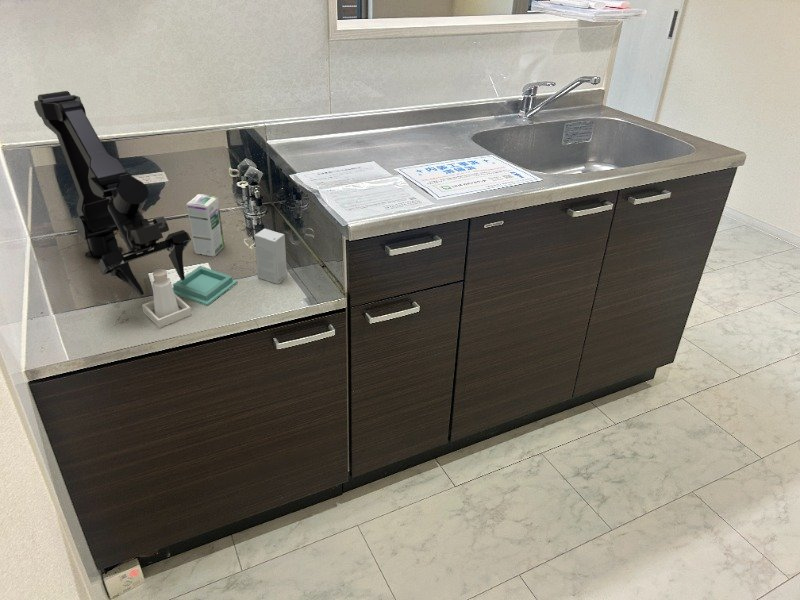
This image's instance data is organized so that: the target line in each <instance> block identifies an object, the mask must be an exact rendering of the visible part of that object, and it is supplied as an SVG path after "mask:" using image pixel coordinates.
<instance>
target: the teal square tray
mask: <svg viewBox="0 0 800 600" xmlns="http://www.w3.org/2000/svg"><path fill="white" fill-rule="evenodd" d="M184 276H185V280H183V281H182V280H181V278H180V279H179V280H177V281H176V282H175V283H173V284H172V288H173V292H174V293H175V294H176V295H177V296H178V297H182V298H185V299H187V300H189V299H190V301H192V300H193V302H196V303H198V304H200V305H203V304H204V306H206V305H207V306H206V307H208V306H209V305H211V304H212V303H213V302H214V300H215V299H216V300H217V299H219V298H220V297H221V296H223V295H224V294H225V293H226V292H228V291H229V290H230V289H232V288H233V287H234V286H235V285H237V284H238V280H236V279H233V276H232V275H228V274H225V273H223V272H220V271H217V270H214V269H211V268H208V267H206V266H203V265H202V266H201V265H199V266H198V267H196V268H195V269H194V270H192V271H191V272H189V273H188V274H186V275H184ZM236 283H237V284H236ZM233 285H234V286H233ZM232 286H233V287H232ZM231 287H232V288H231ZM229 288H230V289H229ZM228 289H229V290H228ZM227 290H228V291H227ZM225 291H226V292H225ZM224 292H225V293H224ZM223 293H224V294H223ZM219 296H220V297H219ZM218 297H219V298H218ZM216 300H215V301H216Z"/></svg>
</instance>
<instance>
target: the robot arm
mask: <svg viewBox="0 0 800 600" xmlns="http://www.w3.org/2000/svg"><path fill="white" fill-rule="evenodd" d="M33 102H34V103H33V104H34V108H35V112H36V113H37V115H38V116H39V117H40V118H41V120H42V121H43V124H44V126H46V128H48V130H51V132H53V134H55V135H56V137H57V141H58V143H59V145H60V148H61V151H62V153H63V156H64V159H65V162H66V164H67V167H68V170H69V172H70V176H71V177H72V180H73V184H74V185H75V188H76V191H77V193H78V194H77V195H78V200H77V204H76V213H77V215H78V216H77V218H76V221H75V224H74V226H75V228H76V231H77V234H79V235H80V236H81V237H82V238H83V239H84V240H85V241H86V243H87V246H88V251H87V252H85V253H84V256H85V257H88V258H91V259H95V260H98V261H99V262H98V264H97V265H98V269H99V270H100V272H101V274H102V276H105V275H106V276H107V275H110V277H116V278H118V279H119V280H121V281H123V282H124V283H126V284H127V285H128V286H129V287H130V288H131V289H132V290H134V291H135V292H136V293H137V294H139V295H140V296H141V297H143V296H144V295H145V293H144V290H143V287H142V286H141V285H140V283H139V281H138V279H137V278H136V276H135V275H134V273H133V271H132V269H131V267H130V264H129V262H131V261H135V260H137V259H140V258H144V257H147V256H150V255H153V254H155V253H156V254H157V253H159V252H162V251H166V250H167V251H168V252H169V254H168V257H169V259H170V261H171V263H172V265H173V267H174V269H175V271H176V274H177V275H178V277H179V278H180V279H181V280H182V281H183V280H185V276H186V275H185V269H184V262H183V257H184V256H183V254H184V251H185V250H186V248H187V247H188V244H190V242H191V240H192V237H191V236H190V235H189V233H188V232H187V231H186V230H185V229H182V230H178V231H175V232H172V233H168V235H167V236H166V238H165V240H163V241H159V240H161V239H164V235H163V233H166V232H169V231H170V227H169V225H168V222H167V220H166V219H165V216H160V217H156V218H155V217H154V219H152V222H153V223H150V222H149V220H148V219H147V218H145V217H144V215H143V213H142V209H143V208H144V205H145V204H146V201H147V200H148V198H149V189H148V186H147V185H146V184H145V183H144V182H143V181H141V180H139V179H137V178H136V177H134V176H133V175H132V174H130V172H129V171H128V170H127V169H125V168H124V167H123V165H122V164H121V162H120V160H118V159H116V158H115V157H113V156H111V155H110V154H109V153H108V152H107V150H106V148H105V147H104V145H103V143H102V141H101V139H100V138H99V135H98V134H97V132H96V131H95V129H94V127H93V125H92V123H91V122H90V119H89V118H88V116H87V113H86V109H85V106H84V104H83V102H82V99H81V97H80V96H79V95H75V94H71V92H69V90H63V91H62V90H61V91H57V92H50V93H49V92H48V93H43V94H37V100H34V101H33ZM108 197H112V199H110V198H108ZM116 231H118V232H119V236H120V238H121V239H123V241H124V243H125V245H126V247H127V249H128V251H127V252H125V253H123V252H122V251H124V247H121V246H119V244H118V240H117V237H116V236H115V232H116ZM158 241H159V242H158Z"/></svg>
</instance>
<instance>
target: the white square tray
mask: <svg viewBox="0 0 800 600" xmlns="http://www.w3.org/2000/svg"><path fill="white" fill-rule="evenodd" d="M174 295H175V298H176V301H177V305H178V307H179V306H180V307H179V308H180V309H179V311H177V312H174V313H172V314H169V315H167V316H164V317H162V318H158V317H157V316H156V315H155V312H153V311H155V310H154V299H153V300H151V301H147V302H145V303H142V304H141V306H142V311H143V313H144V314H145V316H146V317H148V318H149V319H150V320H151V321H152V322H153V323H154V325H156V327H158V328H159V329H161V328H163V327H165V325H166V326H168V325H170V323H171V324H172V323H175V322H178V321H180V320H182V318H183V319H185V318H188V317H189V316H192V310H191V307H190V306H189V305H188V304H187V303H186V302H185V301H184V300H183V299H181V298H180V296H178V295H176V294H175V293H174ZM187 316H188V317H187ZM184 317H185V318H184ZM179 319H180V320H179ZM177 320H178V321H177Z"/></svg>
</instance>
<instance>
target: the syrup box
mask: <svg viewBox="0 0 800 600" xmlns="http://www.w3.org/2000/svg"><path fill="white" fill-rule="evenodd" d="M219 204H220V203H219V198H218V196H215V195H214V196H213V195H211V194H210V195H209V194H202V193H201V194H200V193H198V194H197V193H196V196H194V197H193V198H192V199H190V200H189V201H188V202H187V203H186V209H187V210H186V211H187V215H188V220H189V227H190V232H191V233H190V234H191V240H192V244H193V249H194V251H193V252H194V254H197V255H200V254H202V255H203V256H206V255H207V257H212V258H213V257H216V256H217V255H218V254H219V252H220V251H221V250H222V249H223V248H224V247H225V242H224V240H225V239H224V232H223V226H222V218H221V211H220V205H219Z"/></svg>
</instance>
